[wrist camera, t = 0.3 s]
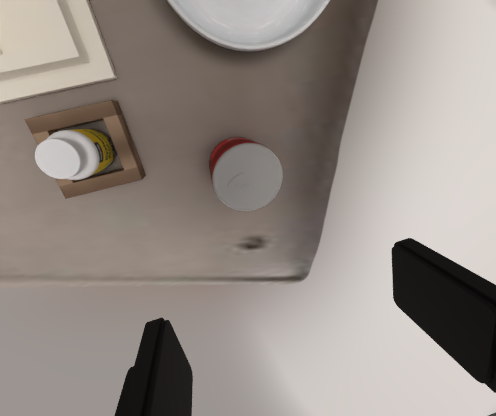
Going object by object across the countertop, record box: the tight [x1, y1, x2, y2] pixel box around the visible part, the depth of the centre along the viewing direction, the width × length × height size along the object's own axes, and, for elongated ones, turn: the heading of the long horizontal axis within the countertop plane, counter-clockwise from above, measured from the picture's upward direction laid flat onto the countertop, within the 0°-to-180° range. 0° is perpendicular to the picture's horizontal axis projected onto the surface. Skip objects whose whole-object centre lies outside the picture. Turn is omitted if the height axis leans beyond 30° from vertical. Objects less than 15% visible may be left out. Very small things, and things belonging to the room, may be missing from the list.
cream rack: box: [0, 0, 118, 104], centre depth 25 cm, size 14×14×8 cm
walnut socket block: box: [25, 100, 146, 198], centre depth 33 cm, size 10×10×2 cm
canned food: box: [209, 137, 283, 211], centre depth 33 cm, size 8×8×11 cm
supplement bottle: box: [35, 129, 116, 180], centre depth 29 cm, size 5×5×10 cm
